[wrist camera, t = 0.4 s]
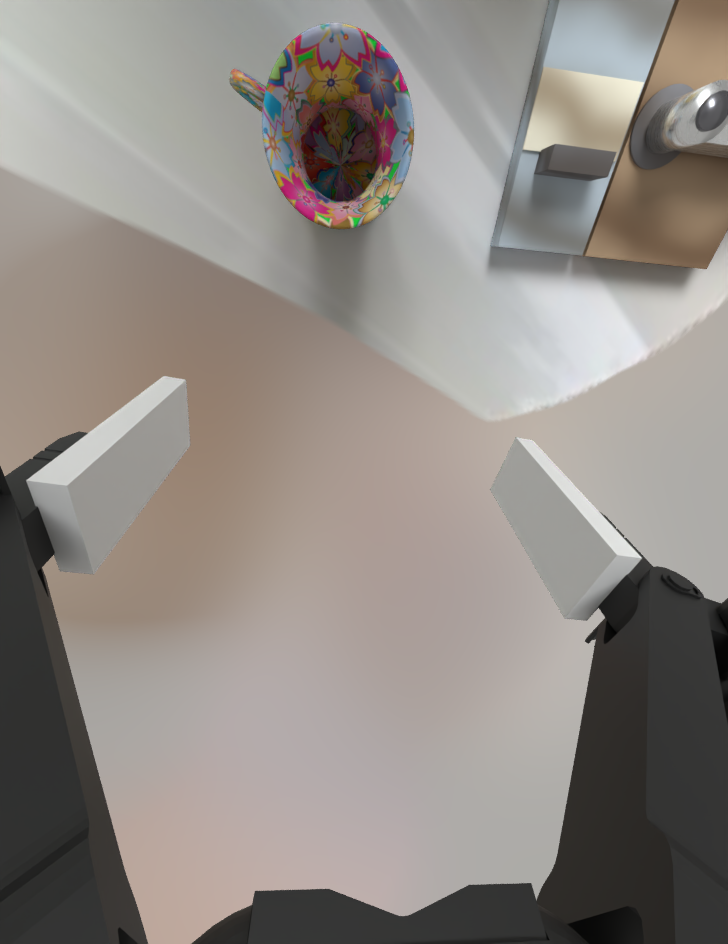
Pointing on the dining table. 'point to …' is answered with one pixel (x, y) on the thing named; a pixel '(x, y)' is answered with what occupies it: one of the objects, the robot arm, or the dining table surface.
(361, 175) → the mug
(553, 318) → the dining table surface
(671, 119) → the latch bar
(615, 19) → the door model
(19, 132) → the dining table surface
